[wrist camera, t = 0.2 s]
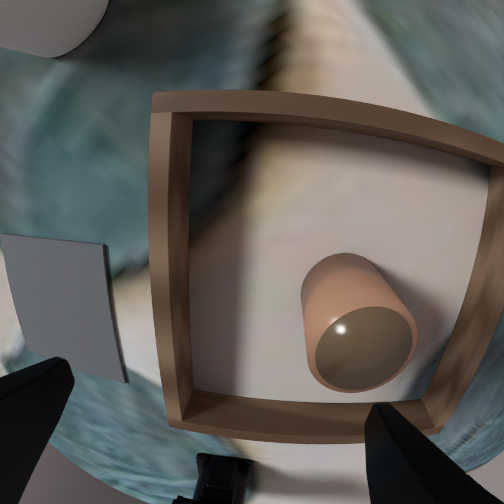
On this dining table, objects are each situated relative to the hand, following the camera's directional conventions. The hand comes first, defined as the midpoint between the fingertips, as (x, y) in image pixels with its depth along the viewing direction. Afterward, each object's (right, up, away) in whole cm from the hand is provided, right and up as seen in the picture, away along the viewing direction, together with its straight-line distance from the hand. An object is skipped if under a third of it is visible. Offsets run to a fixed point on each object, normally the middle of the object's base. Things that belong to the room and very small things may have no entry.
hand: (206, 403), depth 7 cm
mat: (-18, -1, +17) cm, 24 cm away
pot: (+8, +1, +13) cm, 15 cm away
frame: (+8, +1, +13) cm, 15 cm away
